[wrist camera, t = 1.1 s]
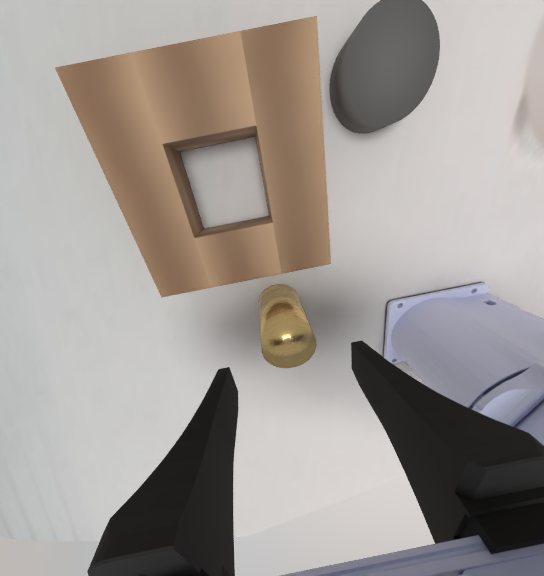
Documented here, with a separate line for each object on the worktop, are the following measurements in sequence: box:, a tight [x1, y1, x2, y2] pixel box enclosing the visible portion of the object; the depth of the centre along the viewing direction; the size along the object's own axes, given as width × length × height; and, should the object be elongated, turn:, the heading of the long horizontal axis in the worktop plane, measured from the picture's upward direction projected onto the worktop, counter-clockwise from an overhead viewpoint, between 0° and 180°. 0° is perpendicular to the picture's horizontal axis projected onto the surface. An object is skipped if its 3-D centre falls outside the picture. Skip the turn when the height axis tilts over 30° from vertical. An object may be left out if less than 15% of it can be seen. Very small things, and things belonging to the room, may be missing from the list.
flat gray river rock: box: [330, 0, 440, 133], centre depth 12 cm, size 5×5×2 cm
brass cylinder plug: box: [259, 284, 316, 368], centre depth 17 cm, size 4×4×6 cm
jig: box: [55, 16, 331, 297], centre depth 14 cm, size 12×12×3 cm
